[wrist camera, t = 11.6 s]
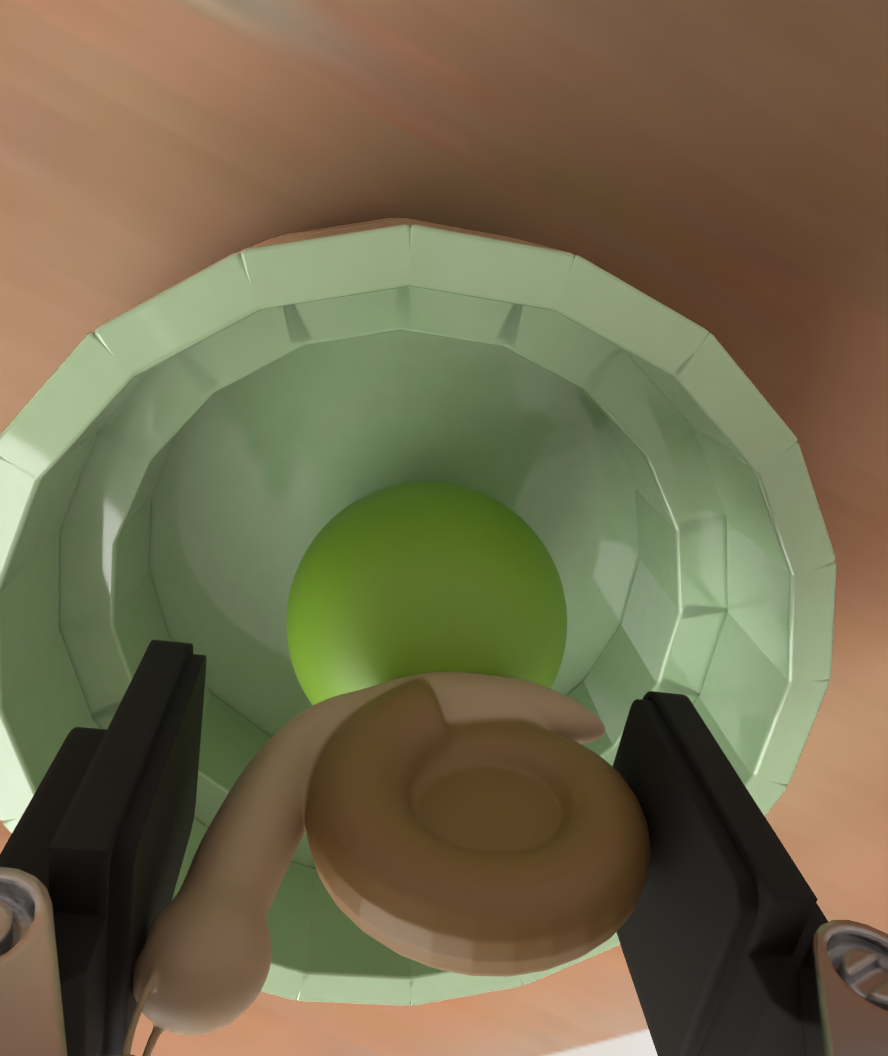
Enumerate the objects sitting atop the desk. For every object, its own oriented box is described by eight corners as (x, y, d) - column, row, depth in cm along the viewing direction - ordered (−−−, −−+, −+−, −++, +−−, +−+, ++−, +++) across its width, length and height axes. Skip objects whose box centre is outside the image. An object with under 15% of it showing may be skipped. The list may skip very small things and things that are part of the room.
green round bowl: (78, 157, 15) (-86, 132, 10) (783, 286, 18) (974, 325, 12) (73, 776, 21) (-37, 987, 15) (617, 820, 23) (697, 1020, 17)
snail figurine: (244, 446, 17) (31, 914, 6) (544, 447, 18) (859, 869, 7) (257, 669, 19) (119, 1326, 8) (527, 662, 20) (743, 1261, 9)
